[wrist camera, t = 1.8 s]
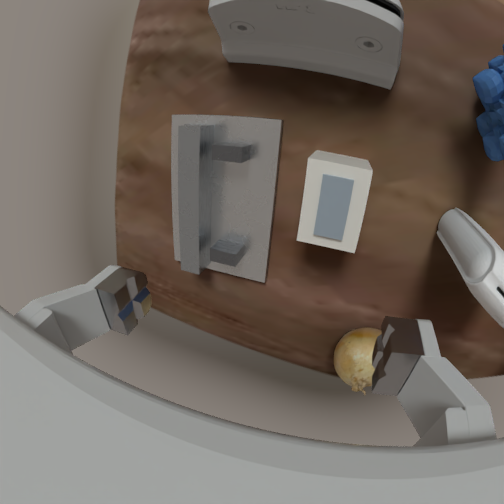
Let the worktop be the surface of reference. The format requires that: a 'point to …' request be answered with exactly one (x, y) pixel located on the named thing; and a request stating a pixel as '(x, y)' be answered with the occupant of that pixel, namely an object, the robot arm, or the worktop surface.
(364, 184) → the block
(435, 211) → the worktop surface
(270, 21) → the white toaster
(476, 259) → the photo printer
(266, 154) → the rail base
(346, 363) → the onion
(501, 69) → the grapes
